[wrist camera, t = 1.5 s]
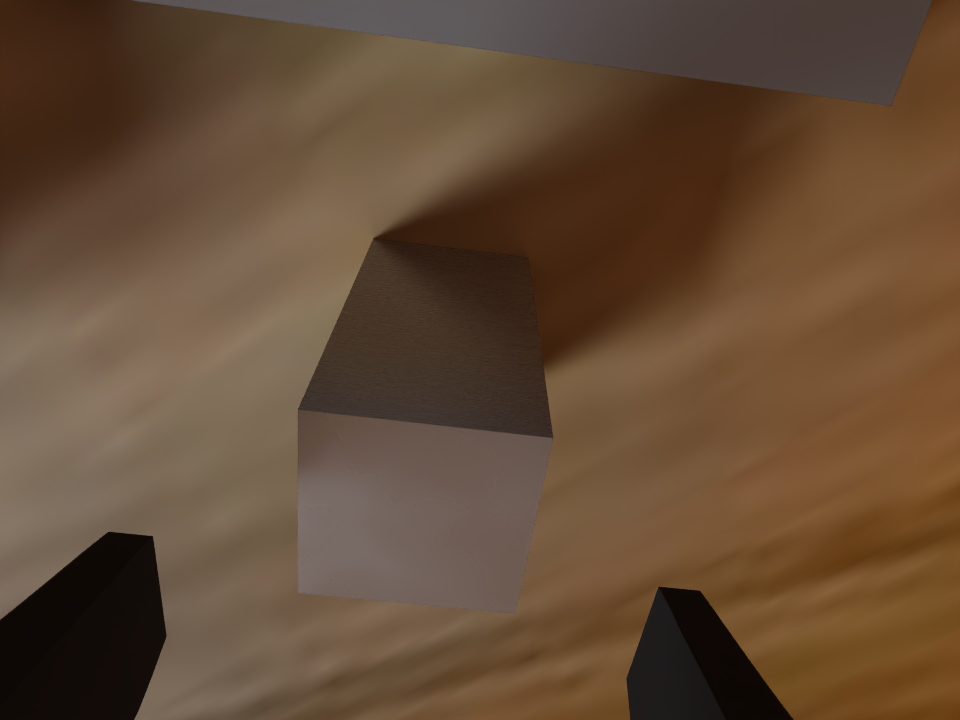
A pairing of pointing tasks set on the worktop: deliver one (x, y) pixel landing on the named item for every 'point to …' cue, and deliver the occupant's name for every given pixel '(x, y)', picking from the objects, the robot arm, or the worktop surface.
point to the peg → (425, 433)
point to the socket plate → (650, 35)
